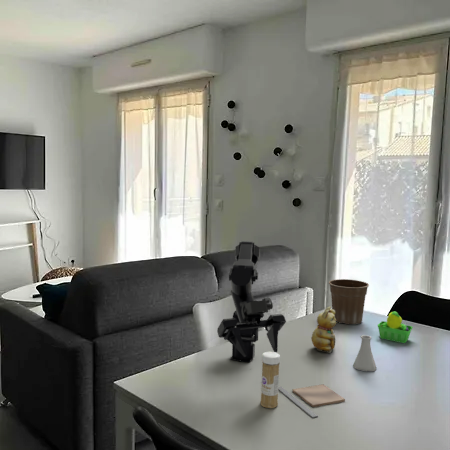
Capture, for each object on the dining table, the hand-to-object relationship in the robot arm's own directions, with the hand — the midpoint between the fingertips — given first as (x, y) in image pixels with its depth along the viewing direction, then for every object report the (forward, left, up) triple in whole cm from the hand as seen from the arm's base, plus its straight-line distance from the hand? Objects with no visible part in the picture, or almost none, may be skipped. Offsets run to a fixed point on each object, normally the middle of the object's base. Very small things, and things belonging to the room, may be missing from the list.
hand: (261, 354), depth 127 cm
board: (+15, +5, -12) cm, 20 cm away
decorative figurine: (+12, +43, -12) cm, 47 cm away
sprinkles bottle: (+3, -4, -12) cm, 13 cm away
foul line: (+10, 0, -12) cm, 15 cm away
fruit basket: (+36, +64, -12) cm, 75 cm away
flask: (+26, +31, -12) cm, 43 cm away
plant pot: (+18, +83, -12) cm, 86 cm away
